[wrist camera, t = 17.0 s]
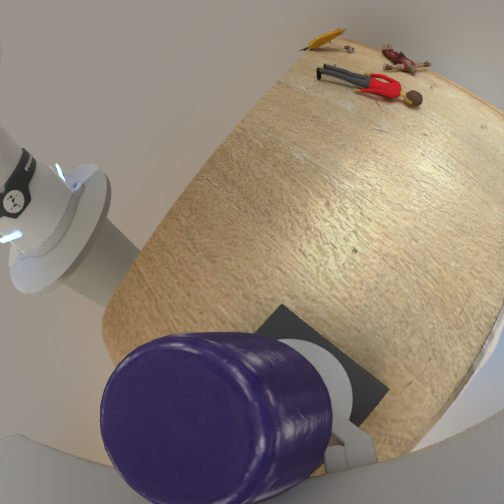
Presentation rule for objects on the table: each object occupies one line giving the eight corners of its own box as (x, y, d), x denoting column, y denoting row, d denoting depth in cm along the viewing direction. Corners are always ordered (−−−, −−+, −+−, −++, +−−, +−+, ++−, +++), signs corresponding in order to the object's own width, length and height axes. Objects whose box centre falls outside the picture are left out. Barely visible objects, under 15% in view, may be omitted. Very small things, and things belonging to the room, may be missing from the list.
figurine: (408, 42, 41) (438, 62, 36) (408, 53, 44) (437, 75, 38) (361, 46, 43) (389, 66, 37) (363, 58, 46) (389, 79, 40)
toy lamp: (250, 378, 19) (54, 314, 4) (315, 361, 18) (294, 243, 4) (264, 440, 16) (91, 545, 2) (331, 425, 16) (373, 555, 2)
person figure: (318, 88, 43) (417, 121, 36) (312, 75, 40) (419, 108, 32) (328, 69, 42) (424, 98, 35) (323, 55, 39) (426, 85, 31)
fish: (348, 25, 42) (339, 23, 39) (353, 33, 42) (344, 32, 40) (304, 47, 51) (293, 47, 49) (309, 54, 52) (298, 55, 49)
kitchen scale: (198, 398, 23) (181, 399, 20) (283, 311, 25) (278, 299, 22) (290, 482, 18) (287, 496, 14) (380, 389, 20) (392, 388, 17)
